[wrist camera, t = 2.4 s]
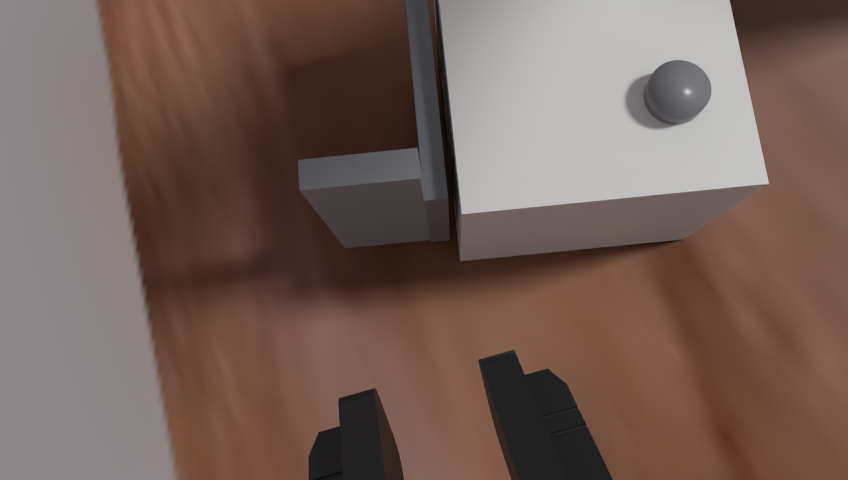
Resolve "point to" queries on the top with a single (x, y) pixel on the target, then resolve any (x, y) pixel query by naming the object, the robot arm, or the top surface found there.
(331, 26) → the top surface
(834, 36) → the top surface
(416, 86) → the side door
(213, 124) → the top surface
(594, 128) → the knobbed white box
